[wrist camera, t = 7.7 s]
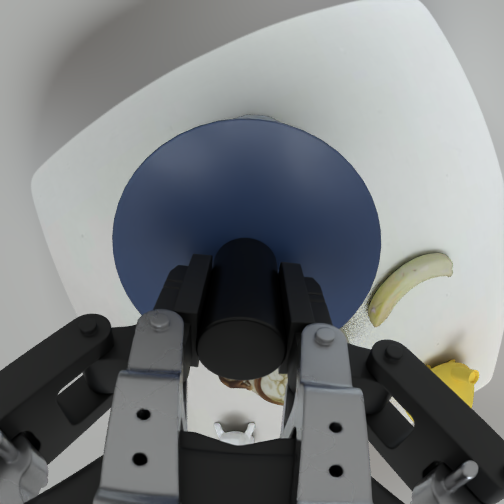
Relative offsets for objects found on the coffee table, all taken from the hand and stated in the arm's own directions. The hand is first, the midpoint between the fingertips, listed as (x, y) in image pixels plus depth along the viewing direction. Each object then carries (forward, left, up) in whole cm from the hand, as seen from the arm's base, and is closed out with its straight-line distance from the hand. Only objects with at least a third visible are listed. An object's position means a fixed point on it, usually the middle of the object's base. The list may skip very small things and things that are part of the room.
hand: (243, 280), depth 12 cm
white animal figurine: (+2, -54, -24) cm, 59 cm away
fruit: (+24, -14, -24) cm, 37 cm away
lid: (0, 0, -2) cm, 2 cm away
